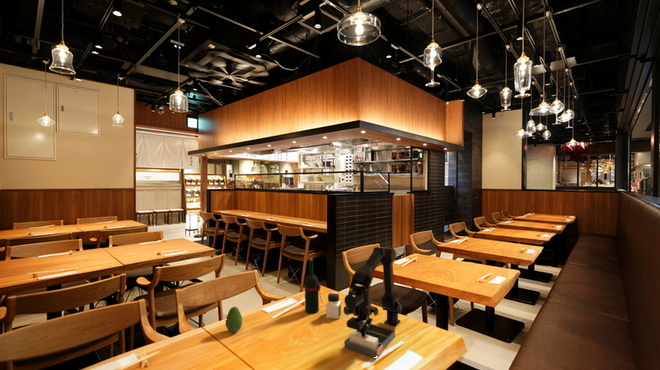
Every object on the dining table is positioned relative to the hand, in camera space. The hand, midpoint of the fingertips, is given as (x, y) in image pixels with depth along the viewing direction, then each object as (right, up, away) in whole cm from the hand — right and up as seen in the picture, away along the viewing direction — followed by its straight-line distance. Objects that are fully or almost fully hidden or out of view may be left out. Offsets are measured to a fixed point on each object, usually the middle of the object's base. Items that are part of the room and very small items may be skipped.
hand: (363, 336), depth 125 cm
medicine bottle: (-13, -6, +33) cm, 35 cm away
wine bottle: (-24, -6, +39) cm, 46 cm away
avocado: (-62, -7, +17) cm, 65 cm away
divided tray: (+4, -5, +5) cm, 9 cm away
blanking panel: (0, -5, 0) cm, 5 cm away
